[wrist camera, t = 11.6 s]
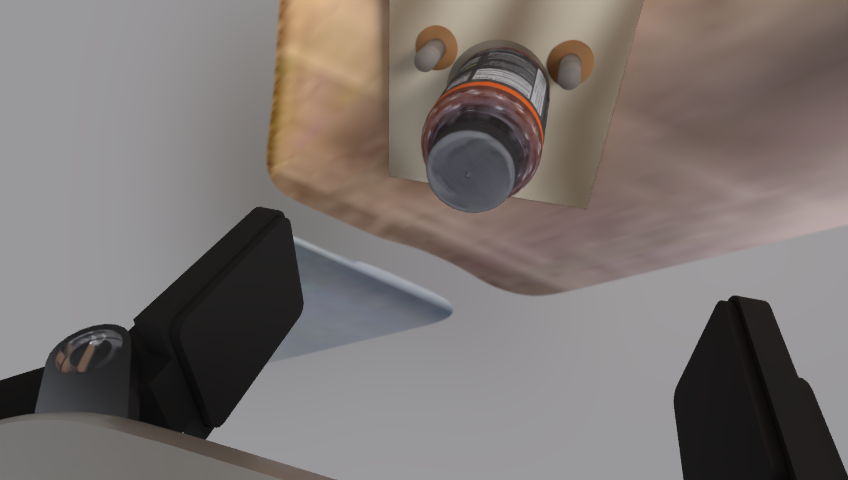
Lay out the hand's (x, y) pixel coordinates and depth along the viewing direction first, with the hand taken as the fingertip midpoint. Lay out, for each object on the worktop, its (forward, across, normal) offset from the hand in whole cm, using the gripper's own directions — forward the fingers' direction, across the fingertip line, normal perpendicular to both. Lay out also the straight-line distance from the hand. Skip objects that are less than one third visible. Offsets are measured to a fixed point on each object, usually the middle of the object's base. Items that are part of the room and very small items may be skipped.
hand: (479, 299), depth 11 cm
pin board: (+23, +3, +3) cm, 24 cm away
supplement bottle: (+22, +3, +3) cm, 23 cm away
